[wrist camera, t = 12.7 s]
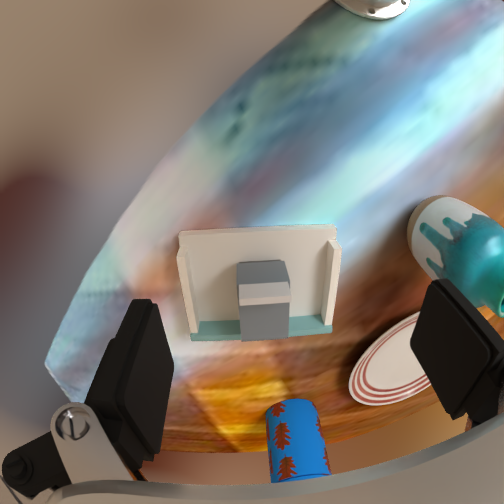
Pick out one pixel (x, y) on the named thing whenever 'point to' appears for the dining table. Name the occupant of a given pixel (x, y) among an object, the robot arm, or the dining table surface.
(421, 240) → the vase
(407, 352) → the dinner plate
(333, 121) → the dining table surface
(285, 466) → the thermos
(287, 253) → the loading dock
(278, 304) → the lidded gray box
